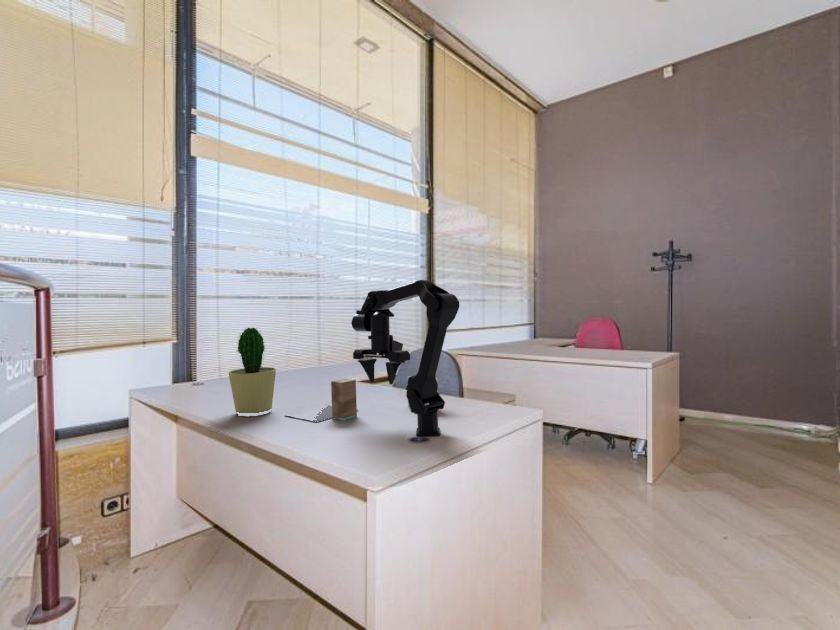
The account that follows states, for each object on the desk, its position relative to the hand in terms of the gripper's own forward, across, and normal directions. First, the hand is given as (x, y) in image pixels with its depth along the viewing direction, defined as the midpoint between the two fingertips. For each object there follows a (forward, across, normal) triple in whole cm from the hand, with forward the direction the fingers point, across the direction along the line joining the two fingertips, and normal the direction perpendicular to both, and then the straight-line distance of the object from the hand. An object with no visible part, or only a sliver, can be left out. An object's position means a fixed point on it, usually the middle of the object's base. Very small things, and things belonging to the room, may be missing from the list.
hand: (381, 383), depth 136 cm
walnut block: (+12, +15, +2) cm, 19 cm away
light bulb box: (+12, +1, -22) cm, 25 cm away
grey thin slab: (+12, +26, +2) cm, 28 cm away
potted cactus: (+12, +47, +14) cm, 50 cm away
